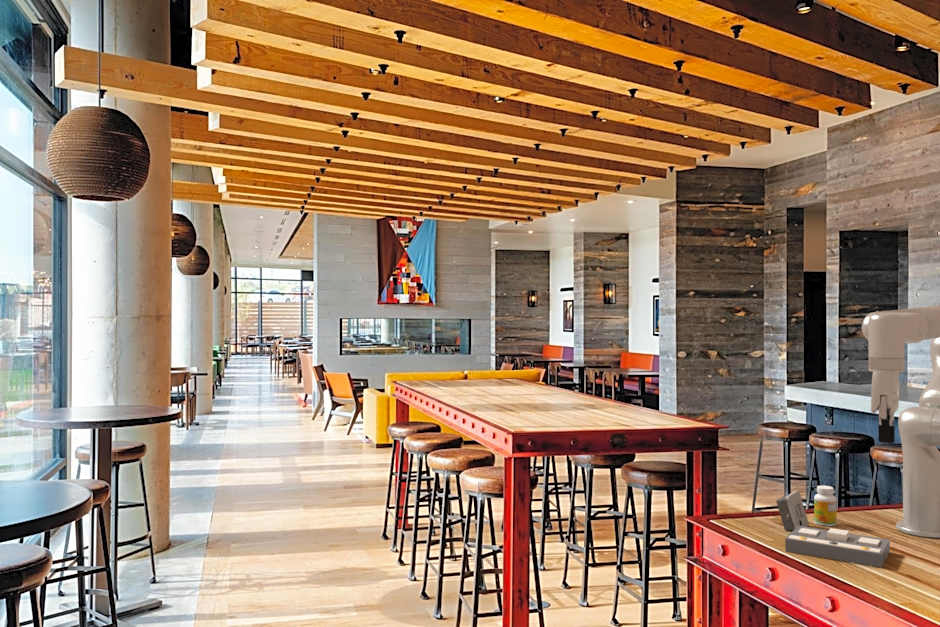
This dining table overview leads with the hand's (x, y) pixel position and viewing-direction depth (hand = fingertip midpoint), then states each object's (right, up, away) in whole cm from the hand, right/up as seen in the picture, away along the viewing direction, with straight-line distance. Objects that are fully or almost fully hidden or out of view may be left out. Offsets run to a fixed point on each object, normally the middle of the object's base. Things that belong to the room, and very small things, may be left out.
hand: (886, 441), depth 179 cm
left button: (-18, -24, +1) cm, 30 cm away
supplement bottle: (-5, -25, +20) cm, 33 cm away
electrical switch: (-15, -25, +16) cm, 34 cm away
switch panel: (-13, -25, -3) cm, 29 cm away
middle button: (-13, -23, -2) cm, 27 cm away
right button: (-7, -24, -6) cm, 26 cm away
